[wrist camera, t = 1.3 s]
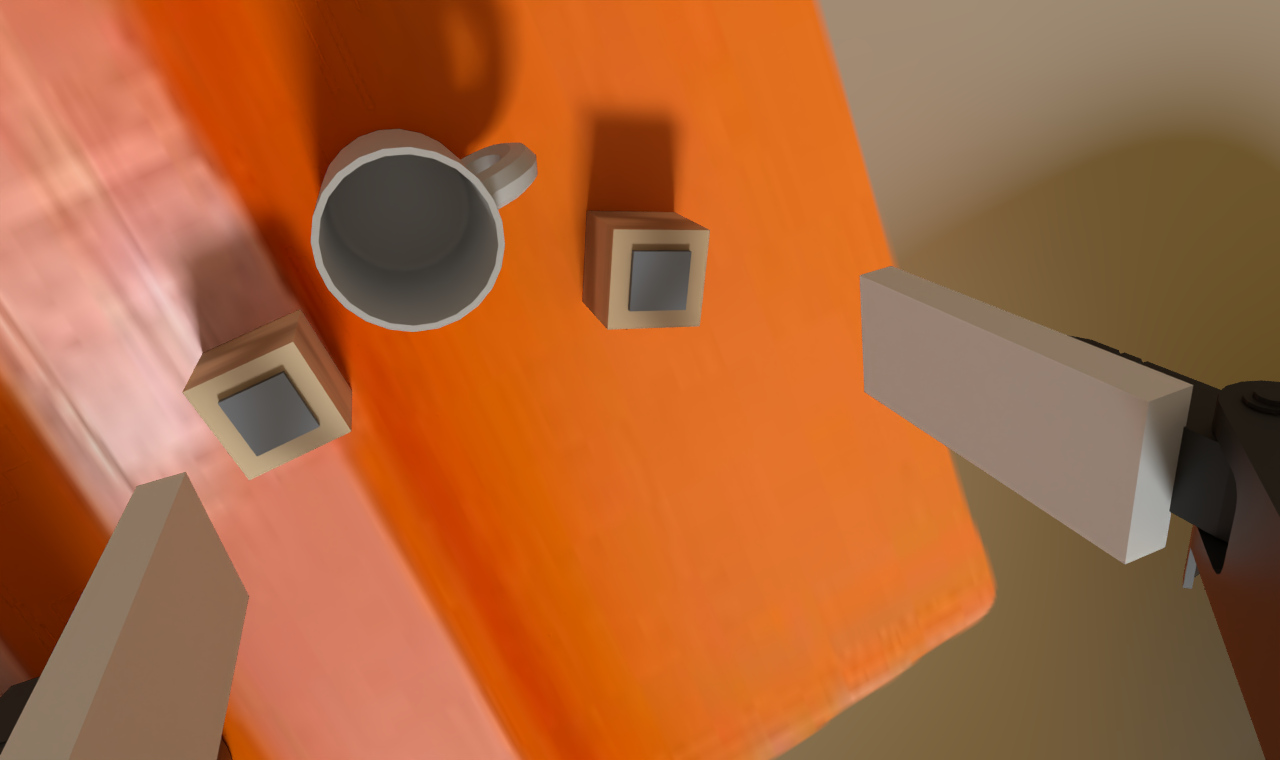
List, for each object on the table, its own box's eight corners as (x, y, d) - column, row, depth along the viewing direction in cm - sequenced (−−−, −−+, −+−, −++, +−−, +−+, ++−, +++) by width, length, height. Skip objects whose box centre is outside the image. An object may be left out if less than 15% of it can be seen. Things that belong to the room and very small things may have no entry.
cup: (288, 171, 35) (268, 204, 28) (478, 72, 36) (511, 77, 29) (376, 301, 39) (380, 363, 31) (547, 207, 40) (594, 244, 32)
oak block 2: (582, 301, 42) (609, 331, 38) (586, 210, 41) (615, 230, 36) (665, 299, 44) (702, 328, 39) (673, 211, 42) (712, 231, 38)
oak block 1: (261, 433, 40) (248, 483, 35) (202, 352, 37) (180, 395, 33) (352, 390, 40) (351, 434, 36) (300, 308, 38) (292, 344, 33)
